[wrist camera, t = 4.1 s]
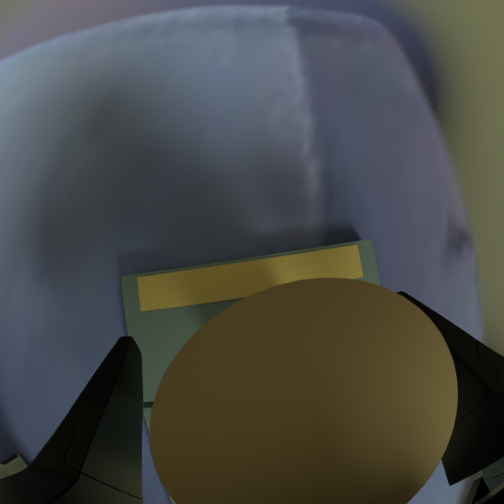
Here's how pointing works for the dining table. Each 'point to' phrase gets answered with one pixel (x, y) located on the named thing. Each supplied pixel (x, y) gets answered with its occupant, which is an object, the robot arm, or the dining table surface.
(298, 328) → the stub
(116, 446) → the robot arm
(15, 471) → the candy bar box
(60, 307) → the dining table surface
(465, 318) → the dining table surface
